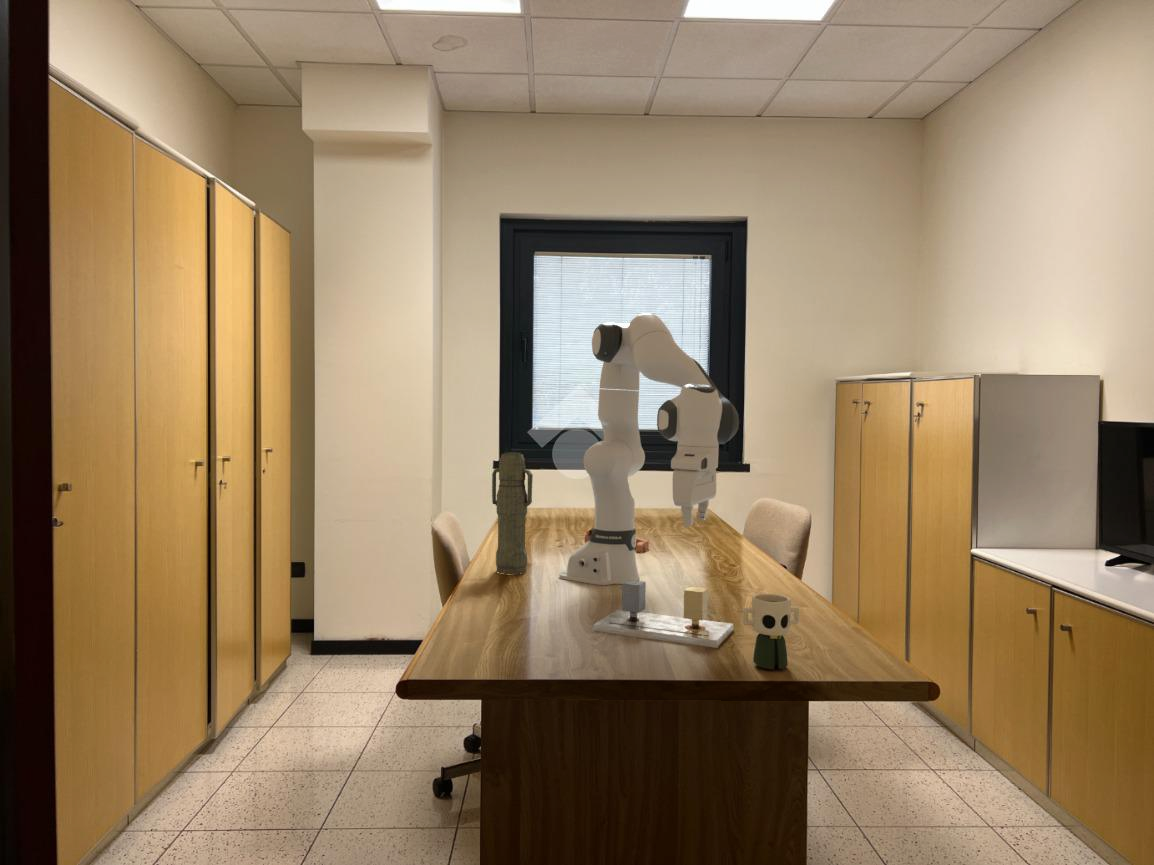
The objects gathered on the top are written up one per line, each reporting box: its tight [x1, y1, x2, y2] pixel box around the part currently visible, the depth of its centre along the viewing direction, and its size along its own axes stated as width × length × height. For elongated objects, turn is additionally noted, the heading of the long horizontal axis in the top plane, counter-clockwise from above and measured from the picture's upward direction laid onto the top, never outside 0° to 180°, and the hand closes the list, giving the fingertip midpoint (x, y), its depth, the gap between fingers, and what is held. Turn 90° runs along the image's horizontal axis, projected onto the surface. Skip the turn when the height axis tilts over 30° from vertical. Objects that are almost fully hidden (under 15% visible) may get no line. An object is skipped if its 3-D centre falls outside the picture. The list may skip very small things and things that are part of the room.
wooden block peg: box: [683, 586, 709, 628], centre depth 169 cm, size 4×4×8 cm
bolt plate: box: [593, 580, 734, 649], centre depth 172 cm, size 27×14×10 cm, turn 65°
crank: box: [584, 533, 650, 554], centre depth 267 cm, size 20×8×8 cm, turn 64°
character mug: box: [742, 593, 800, 670], centre depth 148 cm, size 11×7×13 cm, turn 97°
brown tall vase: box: [491, 451, 534, 575], centre depth 229 cm, size 9×12×35 cm
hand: (694, 522), depth 172 cm, fingers open, 8 cm apart
